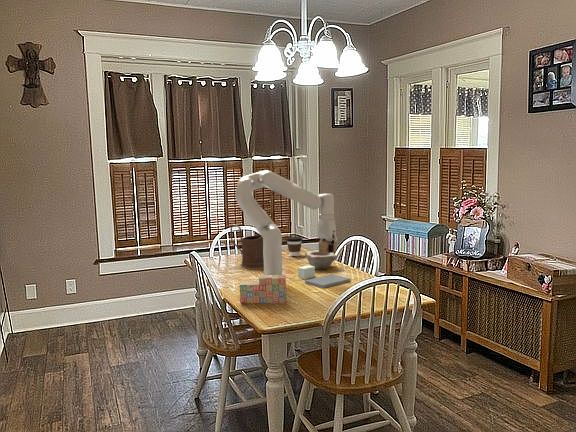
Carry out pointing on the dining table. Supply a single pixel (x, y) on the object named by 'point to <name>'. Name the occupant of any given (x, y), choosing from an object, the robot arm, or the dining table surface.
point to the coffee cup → (294, 245)
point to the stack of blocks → (264, 290)
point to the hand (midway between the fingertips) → (327, 250)
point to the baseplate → (327, 281)
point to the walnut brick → (325, 247)
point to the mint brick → (306, 272)
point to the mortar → (320, 259)
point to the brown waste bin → (251, 251)
